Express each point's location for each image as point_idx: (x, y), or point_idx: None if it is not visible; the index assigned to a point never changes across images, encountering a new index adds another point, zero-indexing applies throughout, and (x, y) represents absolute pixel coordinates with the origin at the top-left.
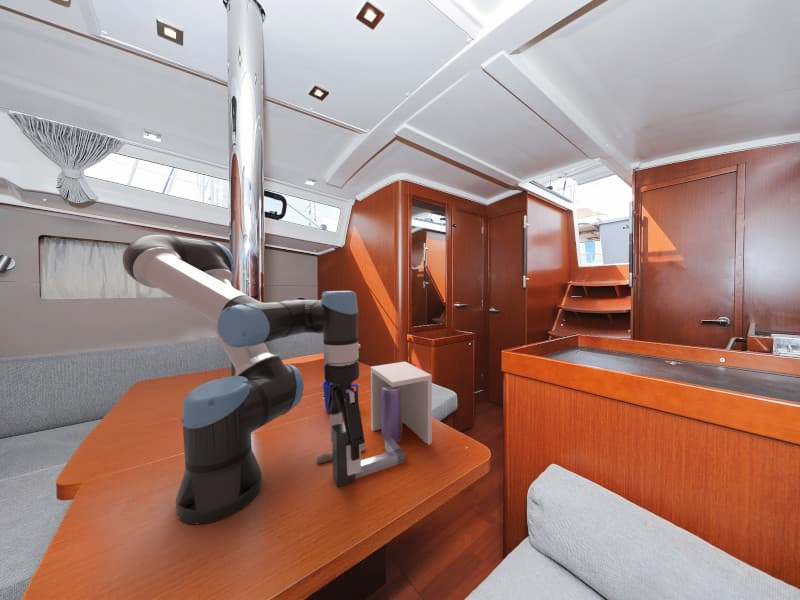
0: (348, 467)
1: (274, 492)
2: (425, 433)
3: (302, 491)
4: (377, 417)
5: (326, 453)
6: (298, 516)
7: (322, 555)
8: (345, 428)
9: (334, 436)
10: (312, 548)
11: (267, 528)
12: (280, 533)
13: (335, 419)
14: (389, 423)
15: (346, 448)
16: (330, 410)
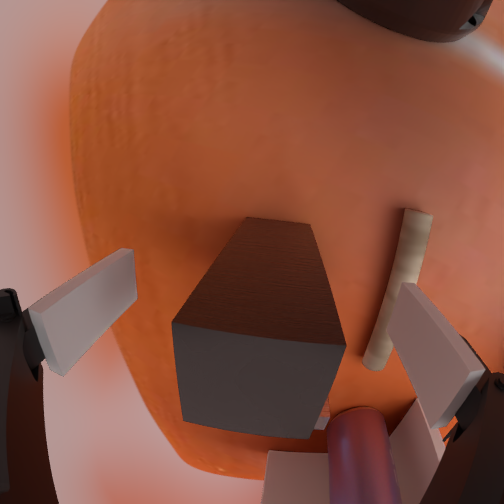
0: (101, 261)
1: (341, 45)
2: (277, 469)
3: (297, 112)
4: (419, 434)
5: (416, 248)
6: (198, 84)
7: (79, 128)
8: (6, 369)
9: (251, 304)
10: (99, 110)
11: (205, 19)
12: (171, 44)
13: (441, 376)
14: (343, 458)
15: (62, 296)
16: (496, 395)
